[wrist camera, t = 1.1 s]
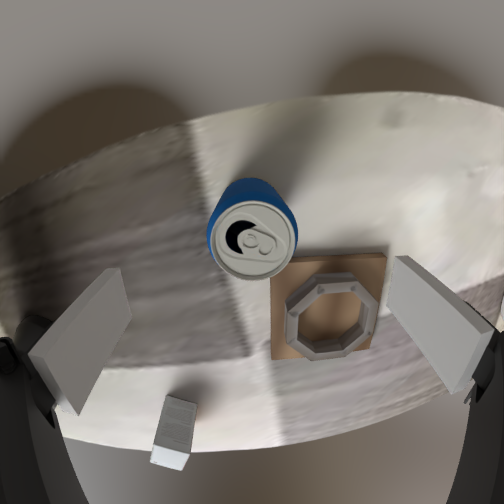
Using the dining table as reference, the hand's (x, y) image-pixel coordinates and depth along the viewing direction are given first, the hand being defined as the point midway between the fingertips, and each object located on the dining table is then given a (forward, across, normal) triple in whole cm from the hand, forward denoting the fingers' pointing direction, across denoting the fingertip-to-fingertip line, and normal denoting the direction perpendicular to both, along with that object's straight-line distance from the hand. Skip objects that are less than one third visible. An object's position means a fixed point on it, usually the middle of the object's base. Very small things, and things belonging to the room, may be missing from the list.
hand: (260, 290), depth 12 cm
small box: (+19, -14, -34) cm, 41 cm away
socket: (+18, +9, -13) cm, 24 cm away
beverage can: (+19, 0, 0) cm, 19 cm away
